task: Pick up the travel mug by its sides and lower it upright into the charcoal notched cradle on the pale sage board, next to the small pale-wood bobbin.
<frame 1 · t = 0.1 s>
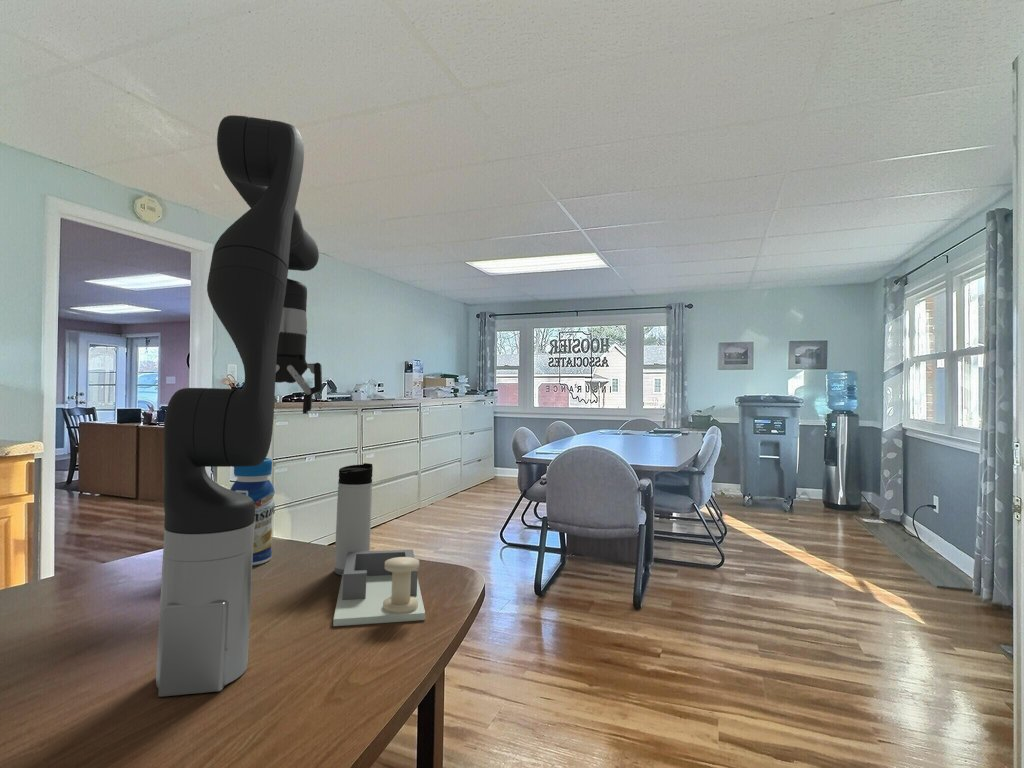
hand: (282, 413, 106), 29 cm above the table, fingers open, 8 cm apart
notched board: (379, 597, 87), on the table
beverage bottle: (248, 562, 104), on the table
travel mug: (352, 571, 100), on the table
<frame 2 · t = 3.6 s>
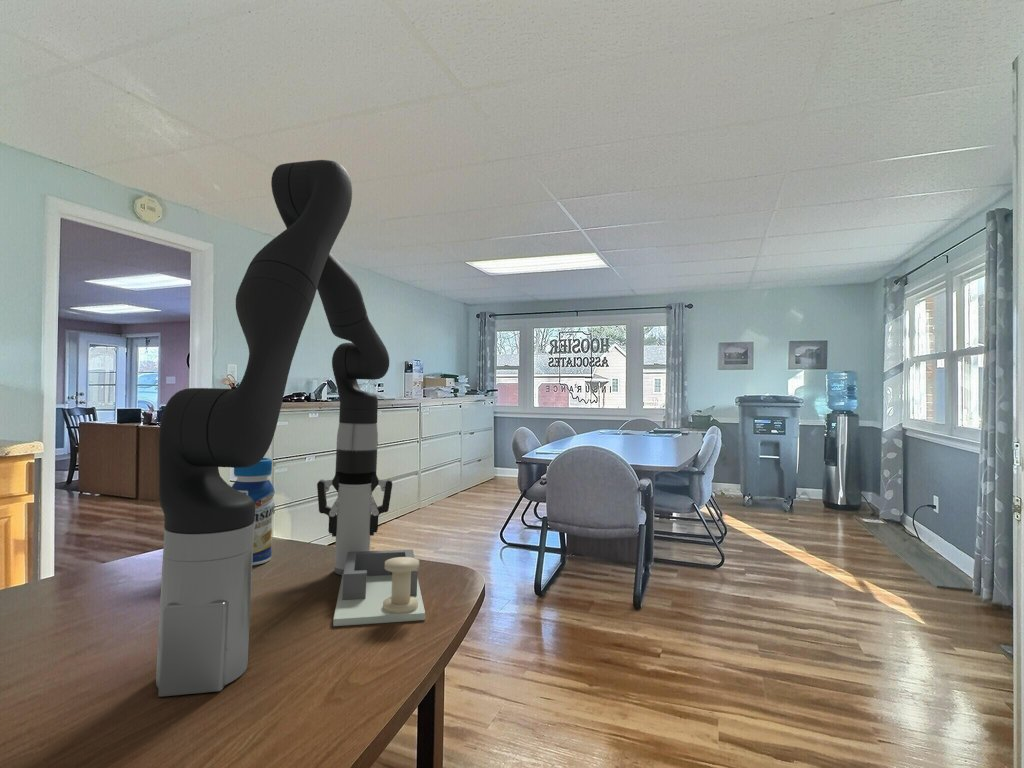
hand: (353, 534, 100), 7 cm above the table, fingers closed on travel mug, 6 cm apart
travel mug: (352, 571, 100), on the table, touching gripper
everything else where it was.
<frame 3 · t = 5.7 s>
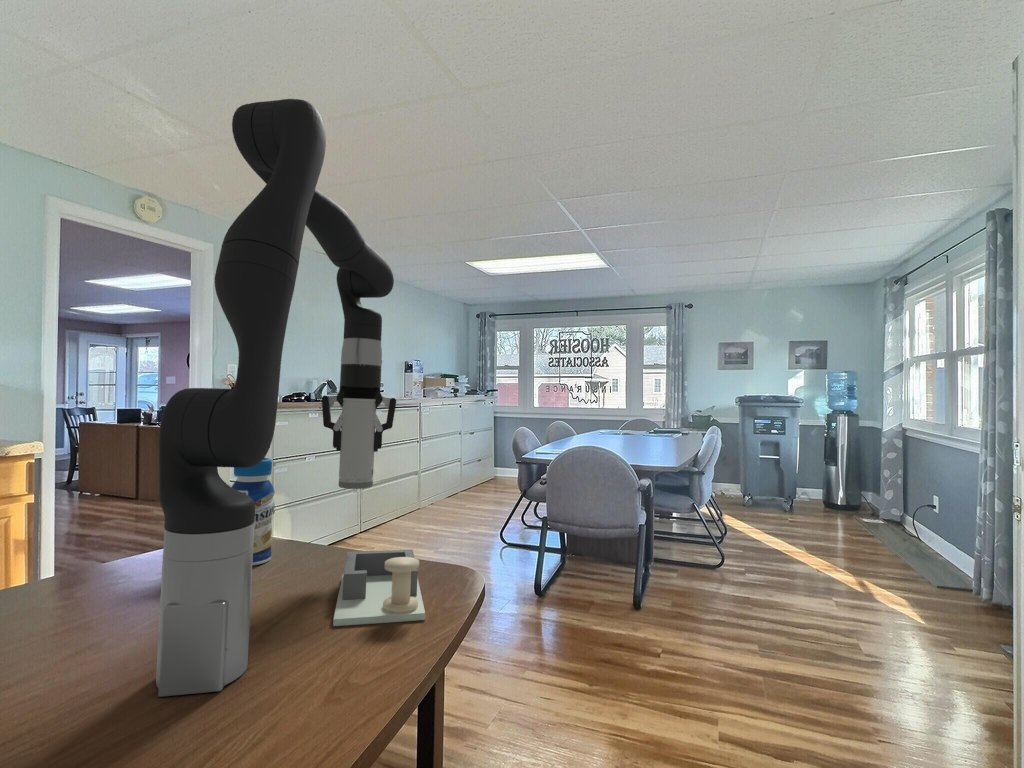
hand: (357, 450, 101), 23 cm above the table, fingers closed on travel mug, 6 cm apart
travel mug: (356, 487, 100), point 16 cm above the table, touching gripper
everything else where it was.
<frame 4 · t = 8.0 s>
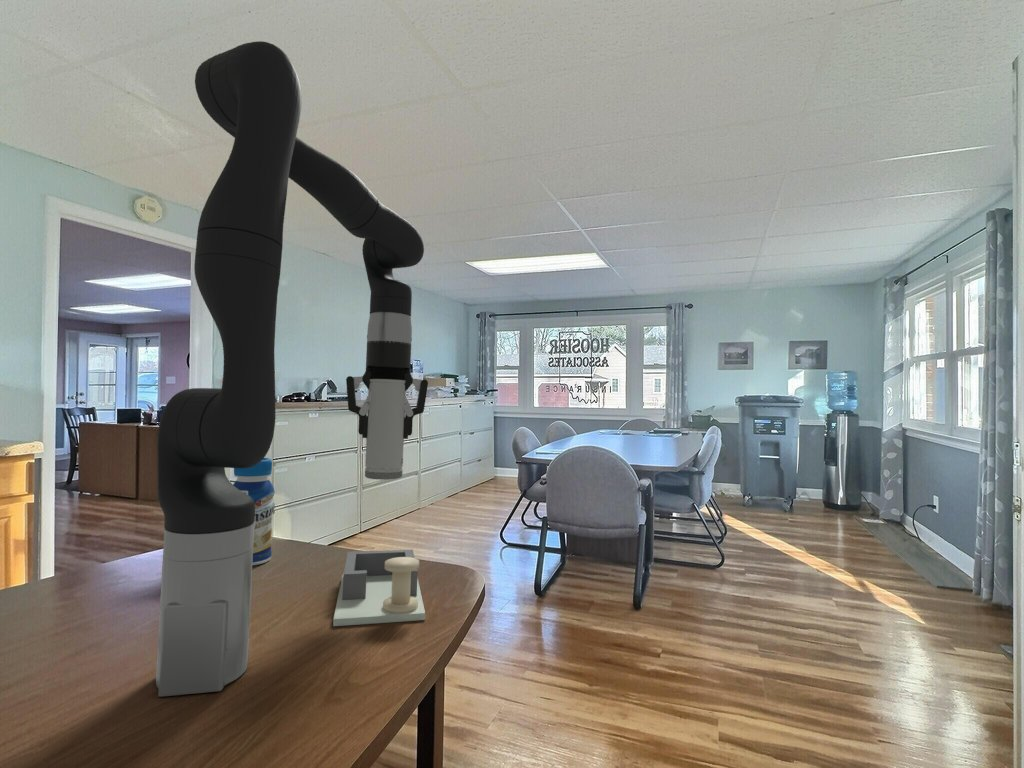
hand: (385, 437, 91), 26 cm above the table, fingers closed on travel mug, 6 cm apart
travel mug: (384, 478, 91), point 19 cm above the table, touching gripper
everything else where it was.
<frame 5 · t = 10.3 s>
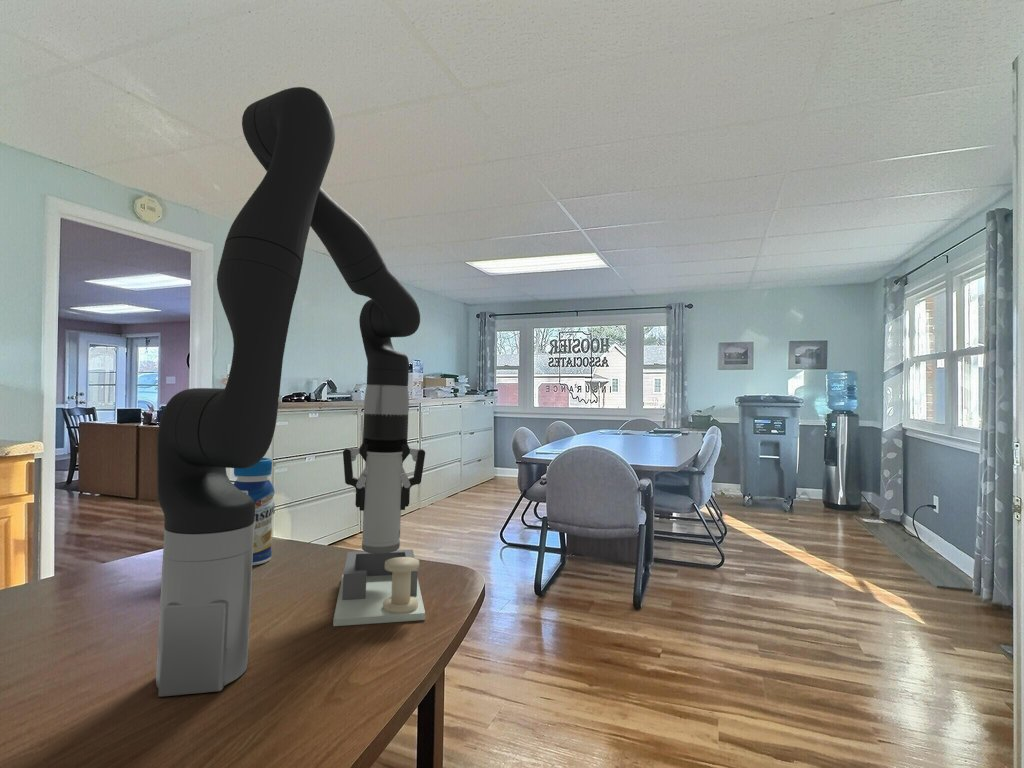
hand: (382, 509, 90), 14 cm above the table, fingers closed on travel mug, 6 cm apart
travel mug: (381, 549, 90), point 7 cm above the table, touching gripper
everything else where it was.
when the fingers open (9 cm above the table, at t = 12.2 s): travel mug drops 1 cm, resting on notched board.
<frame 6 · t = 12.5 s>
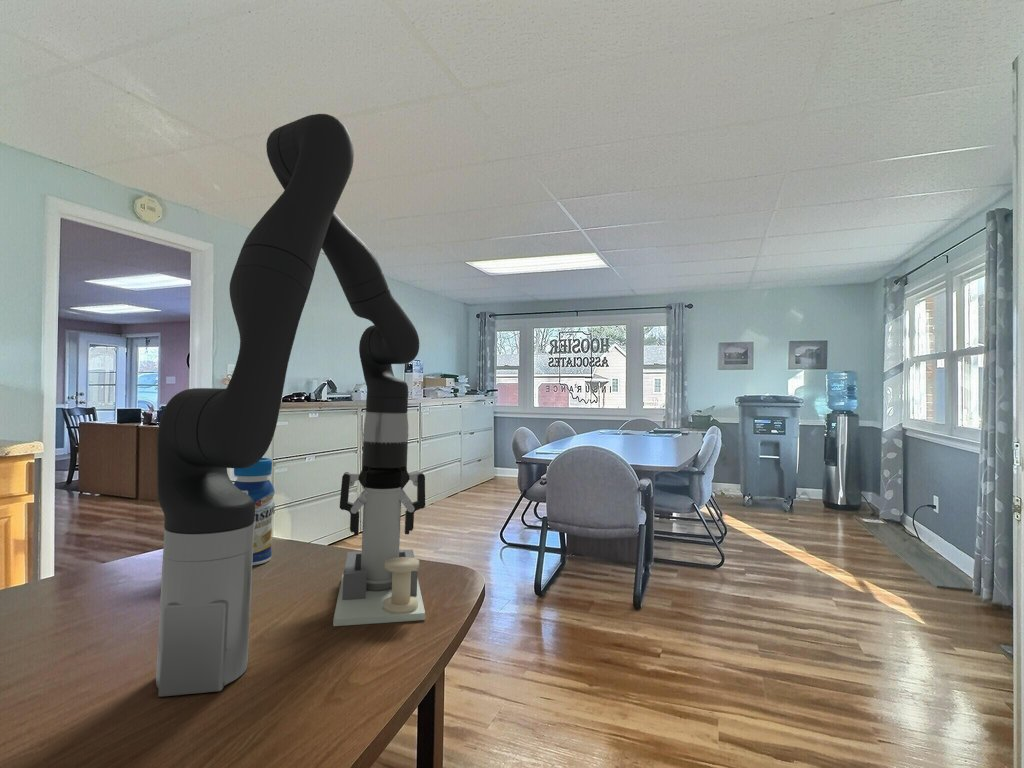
hand: (381, 534, 90), 10 cm above the table, fingers open, 8 cm apart
travel mug: (379, 585, 90), point 1 cm above the table, touching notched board
everything else where it was.
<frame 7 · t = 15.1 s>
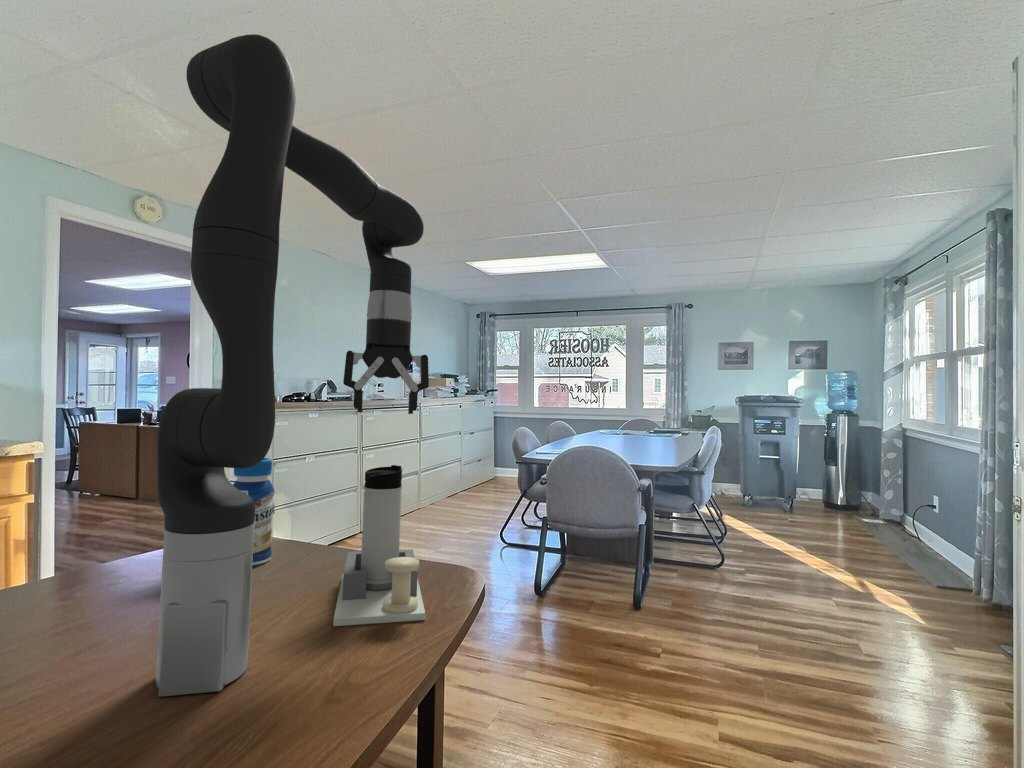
hand: (385, 413, 91), 30 cm above the table, fingers open, 8 cm apart
nothing on the table moved.
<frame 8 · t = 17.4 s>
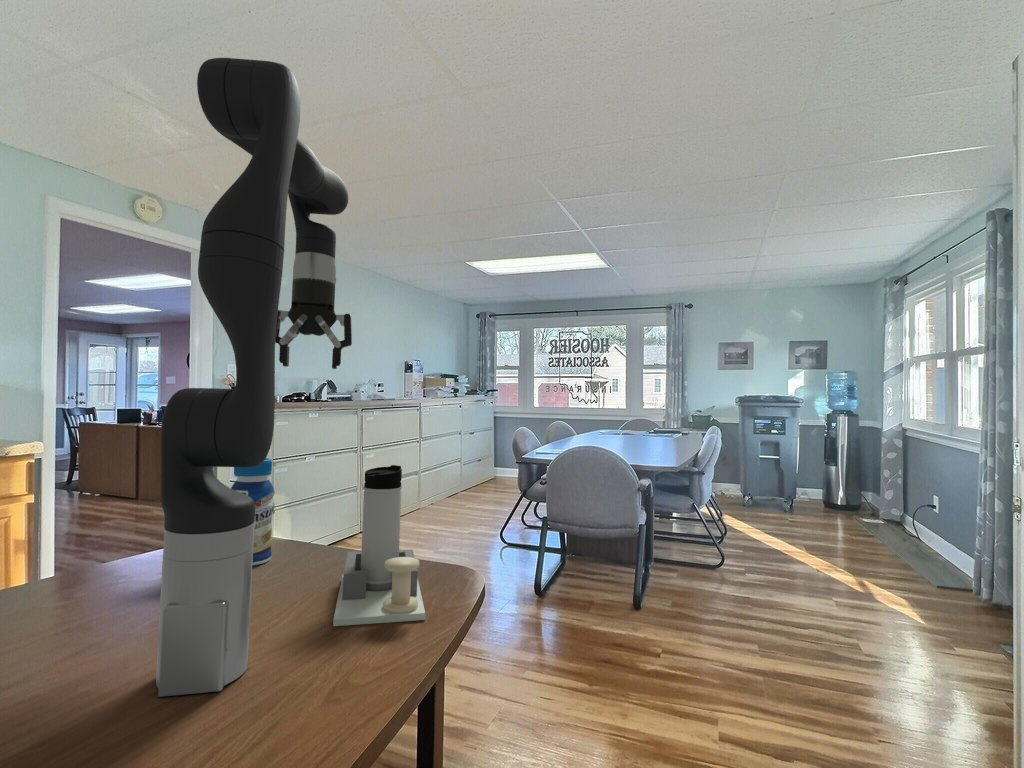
hand: (310, 367, 98), 38 cm above the table, fingers open, 8 cm apart
nothing on the table moved.
at the end: travel mug 0.1 cm from the target spot on the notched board, point 0.8 cm above the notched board's base; travel mug tilted 0°; the gripper is holding nothing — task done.
